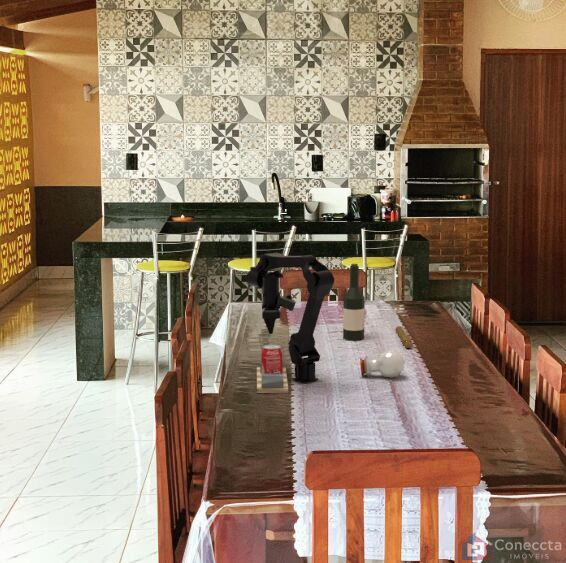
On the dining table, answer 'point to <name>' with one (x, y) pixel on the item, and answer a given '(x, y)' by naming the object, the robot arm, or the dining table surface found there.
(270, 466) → the dining table surface
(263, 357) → the soda can
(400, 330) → the tap handle
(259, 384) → the cradle
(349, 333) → the wine bottle
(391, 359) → the potion bottle
